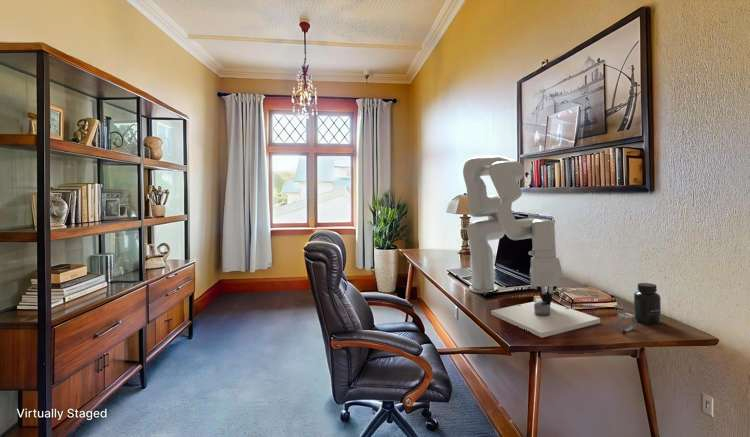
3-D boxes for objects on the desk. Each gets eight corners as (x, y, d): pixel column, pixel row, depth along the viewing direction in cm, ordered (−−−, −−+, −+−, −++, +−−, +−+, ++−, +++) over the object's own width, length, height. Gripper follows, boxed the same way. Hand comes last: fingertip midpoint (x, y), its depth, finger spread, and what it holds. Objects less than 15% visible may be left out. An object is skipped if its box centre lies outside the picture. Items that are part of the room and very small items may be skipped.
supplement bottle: (658, 326, 110) (657, 288, 109) (631, 322, 115) (630, 285, 114) (663, 320, 114) (662, 283, 114) (637, 316, 120) (636, 280, 119)
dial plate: (491, 314, 131) (491, 310, 131) (543, 303, 139) (542, 299, 139) (541, 337, 108) (541, 332, 108) (600, 322, 116) (600, 317, 116)
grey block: (551, 316, 120) (551, 306, 120) (535, 315, 122) (535, 306, 122) (544, 304, 133) (543, 295, 132) (529, 304, 134) (529, 295, 134)
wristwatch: (630, 327, 111) (630, 311, 111) (639, 330, 108) (638, 314, 108) (614, 330, 110) (614, 314, 109) (623, 334, 107) (622, 317, 107)
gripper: (524, 256, 127) (527, 307, 128) (570, 254, 124) (573, 306, 125) (520, 253, 134) (523, 301, 135) (563, 251, 131) (565, 300, 132)
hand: (547, 303), depth 130 cm, fingers closed
